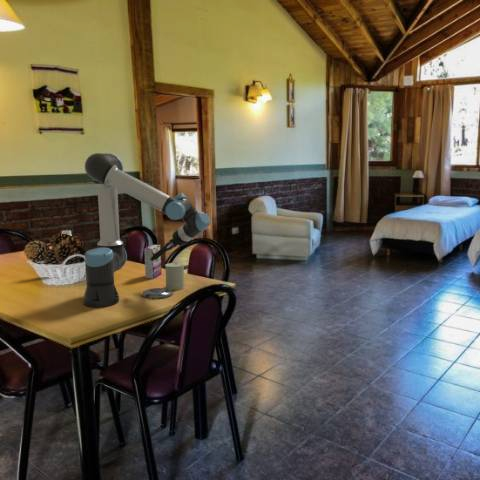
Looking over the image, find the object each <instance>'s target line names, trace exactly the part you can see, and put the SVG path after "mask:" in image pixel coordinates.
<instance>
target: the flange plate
mask: <svg viewBox="0 0 480 480" xmlns="http://www.w3.org/2000/svg"><path fill="white" fill-rule="evenodd" d="M173 292H174V290H171V289H167V288H166V287H155V288H148V289H145V290H143V291H142V293H141V294H142V295H141V296H142V297H143V298H145V299H150V300H159V299H160V300H161V299H168V298H170V297H172V296H173V295H174V293H173Z"/></svg>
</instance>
